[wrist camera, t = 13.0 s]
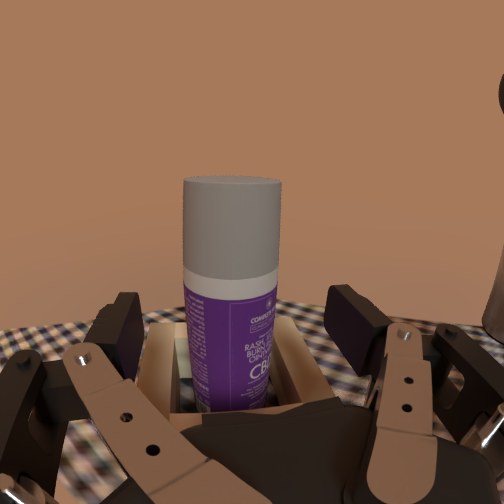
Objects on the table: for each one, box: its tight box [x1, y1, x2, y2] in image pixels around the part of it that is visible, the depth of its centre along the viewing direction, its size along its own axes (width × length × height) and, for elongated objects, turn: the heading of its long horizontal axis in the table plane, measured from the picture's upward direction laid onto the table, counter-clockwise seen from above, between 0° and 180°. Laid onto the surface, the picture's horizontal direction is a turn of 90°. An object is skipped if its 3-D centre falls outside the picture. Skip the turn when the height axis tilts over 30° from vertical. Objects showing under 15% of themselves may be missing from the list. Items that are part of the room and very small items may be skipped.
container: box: [183, 176, 281, 413], centre depth 15 cm, size 5×5×15 cm
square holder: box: [137, 317, 336, 432], centre depth 17 cm, size 11×11×4 cm
